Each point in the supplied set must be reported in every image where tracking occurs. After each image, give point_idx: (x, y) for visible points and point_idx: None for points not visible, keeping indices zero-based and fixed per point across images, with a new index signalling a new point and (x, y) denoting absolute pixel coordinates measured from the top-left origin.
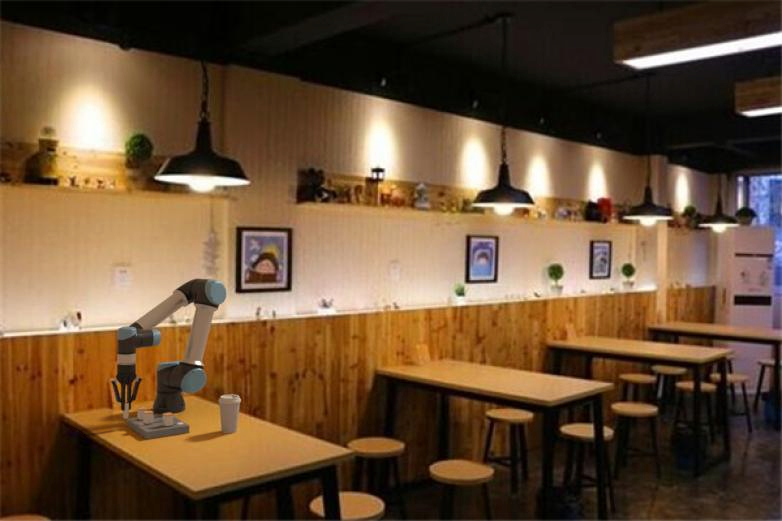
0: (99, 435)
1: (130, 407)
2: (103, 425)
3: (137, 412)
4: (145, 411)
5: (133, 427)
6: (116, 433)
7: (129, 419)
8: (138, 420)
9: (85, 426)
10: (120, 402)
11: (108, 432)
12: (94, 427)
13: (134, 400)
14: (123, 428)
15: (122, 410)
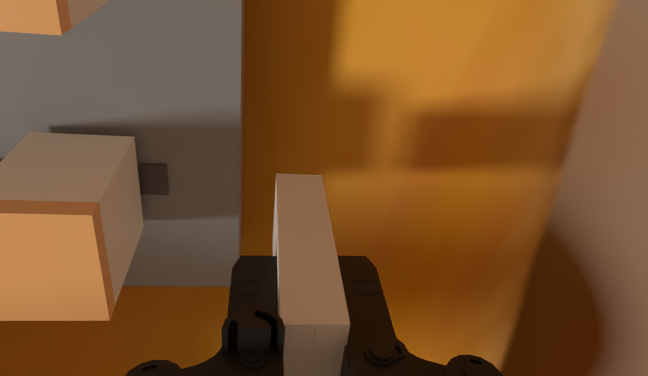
0: (593, 59)
1: (239, 279)
2: (396, 325)
3: (125, 263)
4: (15, 3)
5: (243, 53)
6: (441, 27)
7: (227, 244)
8: (147, 155)
9: (501, 356)
10: (433, 363)
11: (476, 113)
12: (472, 309)
13: (152, 362)
14: (305, 165)
15: (364, 259)
